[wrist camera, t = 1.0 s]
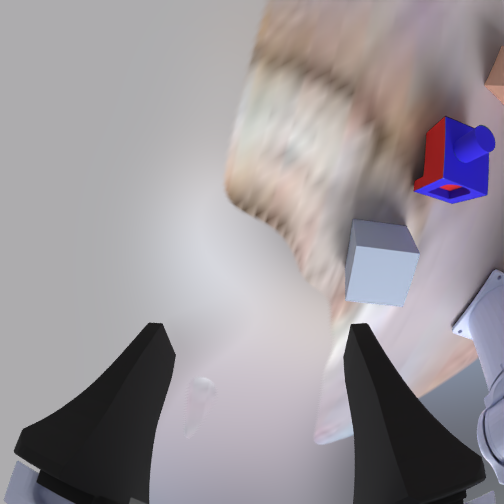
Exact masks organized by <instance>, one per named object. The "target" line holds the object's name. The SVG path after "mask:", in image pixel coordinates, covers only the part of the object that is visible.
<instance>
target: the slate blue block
mask: <svg viewBox="0 0 504 504" xmlns="http://www.w3.org/2000/svg"><path fill="white" fill-rule="evenodd" d="M419 255H420V253H419V251H418V249H417V246H416V244H415V242H414V240H413V238H412V236H411V234H410V232H409V230H408V228H407V226H402V225H395V224H388V223H381V222H373V221H366V220H358V219H353V222H352V229H351V235H350V242H349V248H348V254H347V260H346V266H345V301H353V302H362V303H371V304H380V305H390V306H400V307H403V305H404V302H405V300H406V297H407V294H408V291H409V288H410V285H411V282H412V279H413V275H414V272H415V269H416V266H417V262H418V259H419Z"/></svg>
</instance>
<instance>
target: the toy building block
mask: <svg viewBox="0 0 504 504" xmlns="http://www.w3.org/2000/svg"><path fill="white" fill-rule="evenodd" d="M494 148H495V138H494V136H493V134H492V132H491V131H490V130H489V129H488V128H487V127H485V126H483V125H479V126H477V127H476V128H473V127H470V126H468V125H466V124H464V123H461V122H459V121H457V120H454V119H452V118H449V117H447V116H445V117H444V118H443V119H441V120H440V121H439V122H438V123H437V124H436V125H435V126H434V127H433V128H432V129H431V130H429V131H428V132H427V133H426V150H425V163H424V173H423V177H421V178H419V179H417V180H416V181H415V183H414V192H417V193H420V194H424V195H427V196H430V197H433V198H436V199H439V200H442V201H445V202H448V203H451V204H454V203H458V202H462V201H466V200H470V199H474V198H478V197H482V196H486V195H487V194H488V175H489V152H491V151H493V150H494Z"/></svg>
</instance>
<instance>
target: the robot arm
mask: <svg viewBox="0 0 504 504" xmlns="http://www.w3.org/2000/svg"><path fill="white" fill-rule="evenodd" d="M498 276H499V277H498ZM452 331H453V333H454V334H457V335H460V336H463V337H466V338H469V339H472V340H473V342H474V345H475V348H476V351H477V354H478V357H479V359H480V363H481V366H482V369H483V372H484V375H485V379H486V383H487V386H488V390H489V394H488V395H487V396H486V397H485V398H484V402H485V406H486V409H485V410H483V412H482V413H481V414H480V416H479V420H478V427H477V439H478V444H479V448H480V450H481V453H482V455H483V456H484V458H485V459H486V460H487V461H488V462H489V463H490V464H491V466H492V467H493V469H494V471H495V473H496V476H497V478H498V480H499V483H500V484H504V273H503V272H501V271H499V270H497V269H496V270H494V271H493V272H492V273H491V275H490V276H489V278H488V280H487V281H486V283H485V284H484V286H483V287H482V288H481V290H480V291H479V293H478V294H477V296H476V297H475V299H474V300H473V301H472V303H471V304H470V305H469V307H468V308H467V309H466V311H465V312H464V313H463V315H462V316H461V317H460V319H459V320H458V321H457V322H456V324H455V325H454V326H453V328H452ZM175 357H176V354H175V352H174V350H173V348H172V345H171V343H170V340H169V338H168V336H167V333H166V331H165V329H164V326H163V324H162V323H148V324H147V325H146V326H145V328H144V329H143V330H142V331H141V332H140V333H139V334H138V335H137V337H136V338H135V339H134V340H133V341H132V342H131V344H130V345H129V346H128V347H127V348H126V349H125V350H124V352H123V353H122V354H121V355H120V356H119V357H118V358H117V359H116V360H115V361H114V362H113V364H112V365H111V366H110V367H109V368H108V369H107V370H106V371H105V372H104V373H103V374H102V375H101V376H100V377H99V378H98V379H97V380H96V381H95V382H94V383H92V384H91V385H90V386H89V387H88V388H87V389H86V390H84V391H83V392H82V393H81V394H80V395H78V396H77V397H76V398H74V399H73V400H72V401H70V402H69V403H68V404H66V405H65V406H64V407H62V408H61V409H59V410H57V411H56V412H54V413H53V414H51V415H49V416H48V417H46V418H44V419H42V420H41V421H38V422H36V423H35V424H32V425H30V426H28V427H26V428H24V429H23V430H22V432H21V434H20V437H19V439H18V442H17V444H16V447H15V449H14V453H15V454H16V455H18V456H19V457H21V458H23V459H24V460H26V461H27V462H29V463H30V464H33V465H34V466H36V467H37V468H39V469H41V470H40V473H37V472H36V471H34V470H32V469H31V468H29V467H27V466H26V465H24V464H22V463H21V462H19V461H17V462H16V465H15V468H14V471H13V473H12V476H11V479H10V482H9V485H8V488H7V491H6V495H5V498H4V501H5V502H6V503H7V504H149V480H150V468H151V458H152V451H153V444H154V438H155V432H156V428H157V424H158V420H159V417H160V413H161V410H162V407H163V404H164V401H165V398H166V394H167V391H168V388H169V385H170V381H171V378H172V373H173V368H174V362H175ZM343 358H344V373H345V383H346V389H347V394H348V400H349V406H350V411H351V417H352V424H353V431H354V439H355V440H354V444H355V482H354V500H353V504H496V501H495V493H494V491H491V492H489V493H486V494H484V495H482V496H480V497H478V498H476V499H474V500H471V501H468V502H465V503H463V499H464V498H466V489H468V488H471V487H473V486H475V485H477V484H478V483H480V482H482V481H484V480H485V478H486V475H485V469H484V464H483V461H482V457H481V456H479V455H478V454H476V453H475V452H474V451H472V450H471V449H470V448H468V447H467V446H466V445H464V444H463V443H462V442H460V441H459V440H458V439H457V438H456V437H455V436H453V435H452V434H451V433H450V432H449V431H448V430H447V429H446V428H445V427H444V426H443V425H442V424H441V423H440V422H439V421H438V420H437V419H436V418H434V416H433V415H432V414H431V413H430V412H429V411H428V410H427V409H426V408H425V407H424V405H423V404H422V403H421V402H420V401H419V400H418V398H417V397H416V396H415V395H414V393H413V392H412V391H411V390H410V388H409V387H408V386H407V384H406V383H405V382H404V380H403V379H402V377H401V376H400V375H399V373H398V372H397V370H396V369H395V367H394V366H393V364H392V363H391V361H390V360H389V358H388V357H387V355H386V354H385V352H384V350H383V349H382V347H381V346H380V344H379V342H378V341H377V339H376V337H375V335H374V334H373V332H372V330H371V328H370V327H369V325H368V324H367V323H362V324H351V326H350V331H349V335H348V340H347V344H346V348H345V353H344V357H343Z"/></svg>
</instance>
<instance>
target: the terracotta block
mask: <svg viewBox="0 0 504 504" xmlns="http://www.w3.org/2000/svg"><path fill="white" fill-rule="evenodd" d="M484 86H485V87H486V88H488V89H489V90H490V91H491V92H492V93H493V94H494V95H495V96H496V97H497V98H498V99H499V100H500V101H501V102H502V103H503V105H504V46H501V49H500V51H499V54H498V56H497V58H496V61H495V63H494V65H493V67H492V70H491V72H490V74H489V76H488V78H487V81H486V83H485V85H484Z"/></svg>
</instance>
